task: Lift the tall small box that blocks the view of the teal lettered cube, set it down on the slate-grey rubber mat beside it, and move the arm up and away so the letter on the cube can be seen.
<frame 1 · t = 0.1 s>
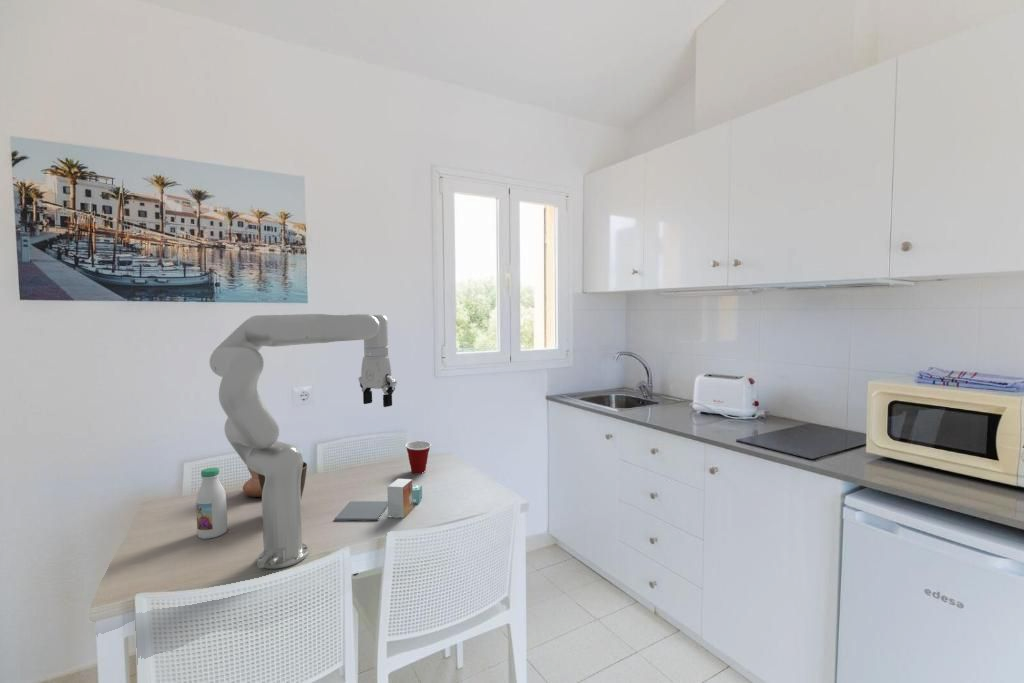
hand: (377, 404, 154), 37 cm above the table, tool pointing down, fingers open, 9 cm apart
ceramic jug: (264, 493, 177), on the table
slate mat: (363, 511, 159), on the table
plant pot: (284, 514, 158), on the table
small box: (400, 513, 158), on the table
plastic cup: (418, 472, 200), on the table
lettered cube: (413, 501, 168), on the table
milk bottle: (212, 534, 144), on the table
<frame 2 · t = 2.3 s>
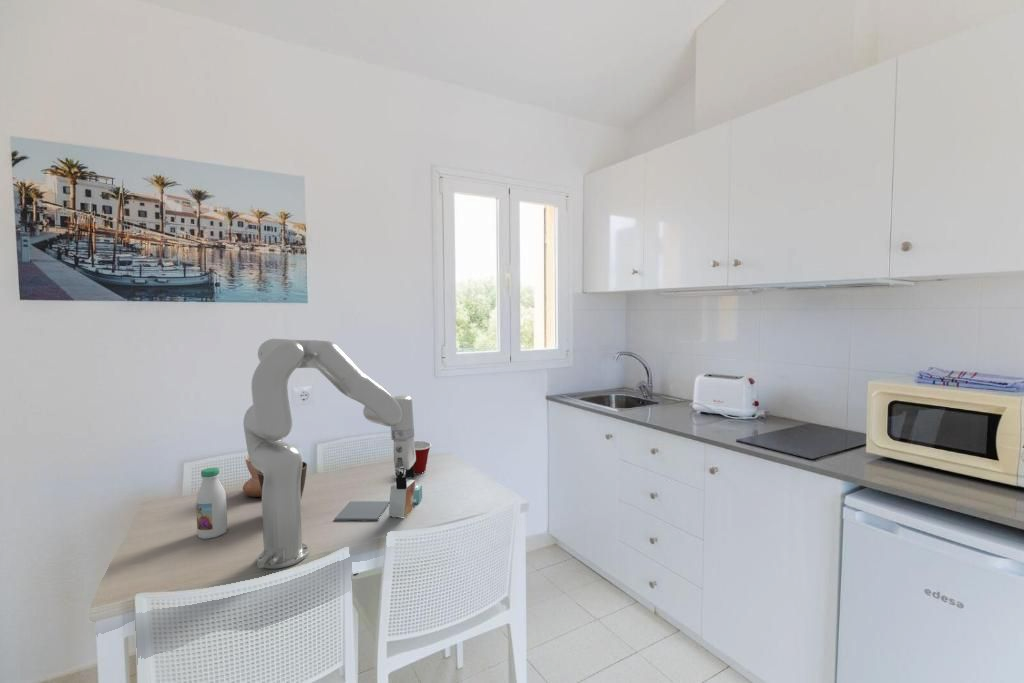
hand: (405, 482, 158), 10 cm above the table, tool pointing down, fingers open, 9 cm apart
small box: (400, 513, 158), on the table, touching gripper
everything else where it was.
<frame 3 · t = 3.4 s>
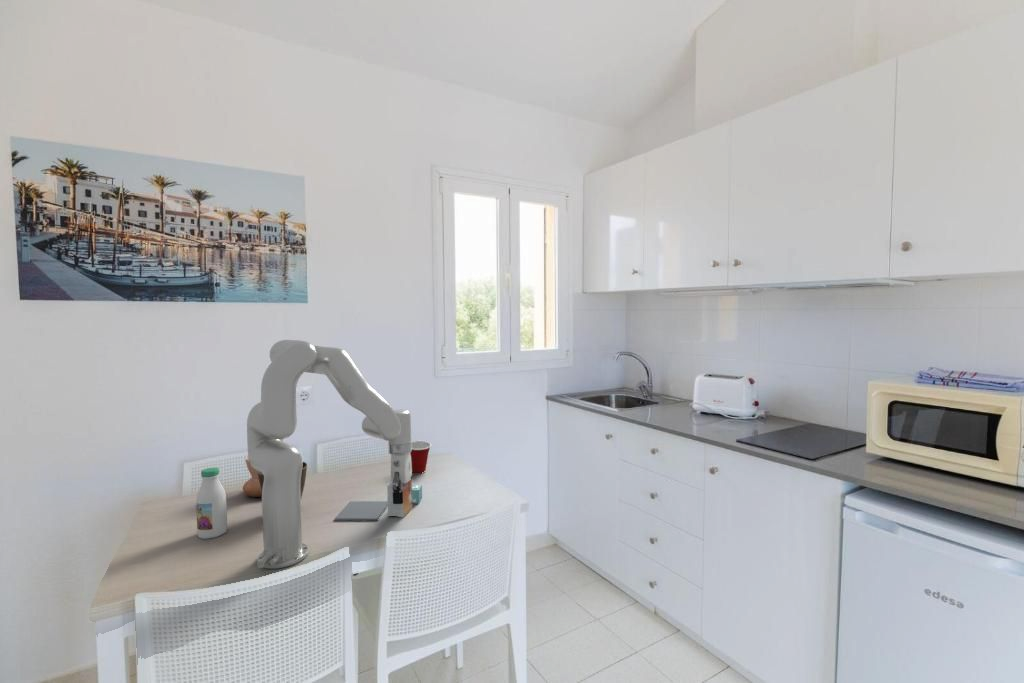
hand: (401, 497, 158), 5 cm above the table, tool pointing down, fingers closed on small box, 8 cm apart
small box: (400, 513, 158), on the table, touching gripper
everything else where it was.
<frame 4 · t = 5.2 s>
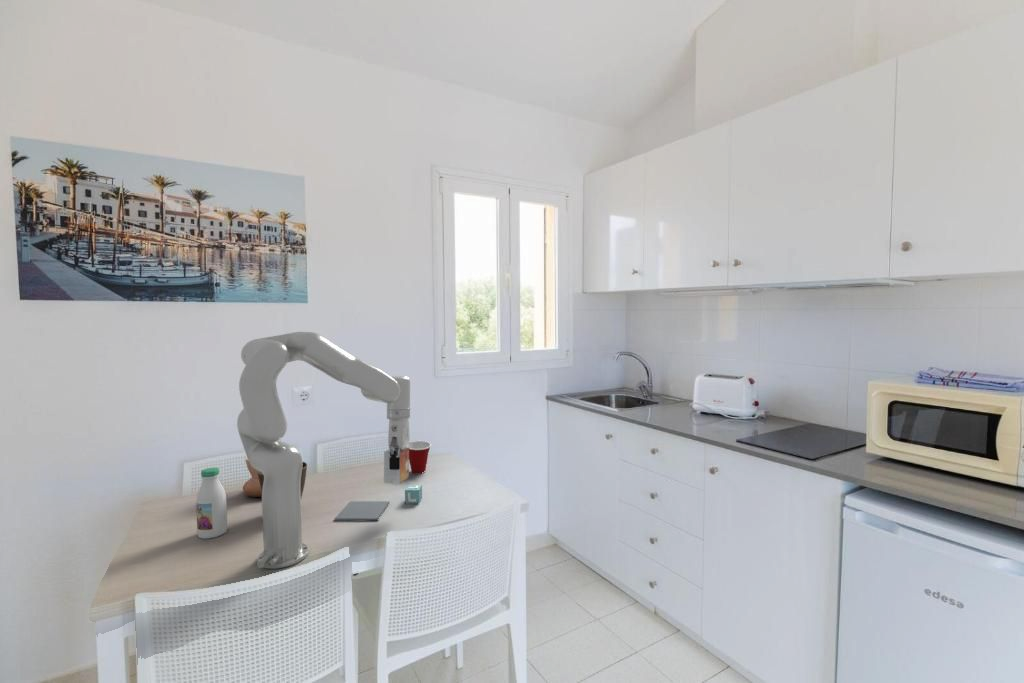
hand: (398, 465, 157), 17 cm above the table, tool pointing down, fingers closed on small box, 8 cm apart
small box: (396, 480, 157), point 11 cm above the table, touching gripper
everything else where it was.
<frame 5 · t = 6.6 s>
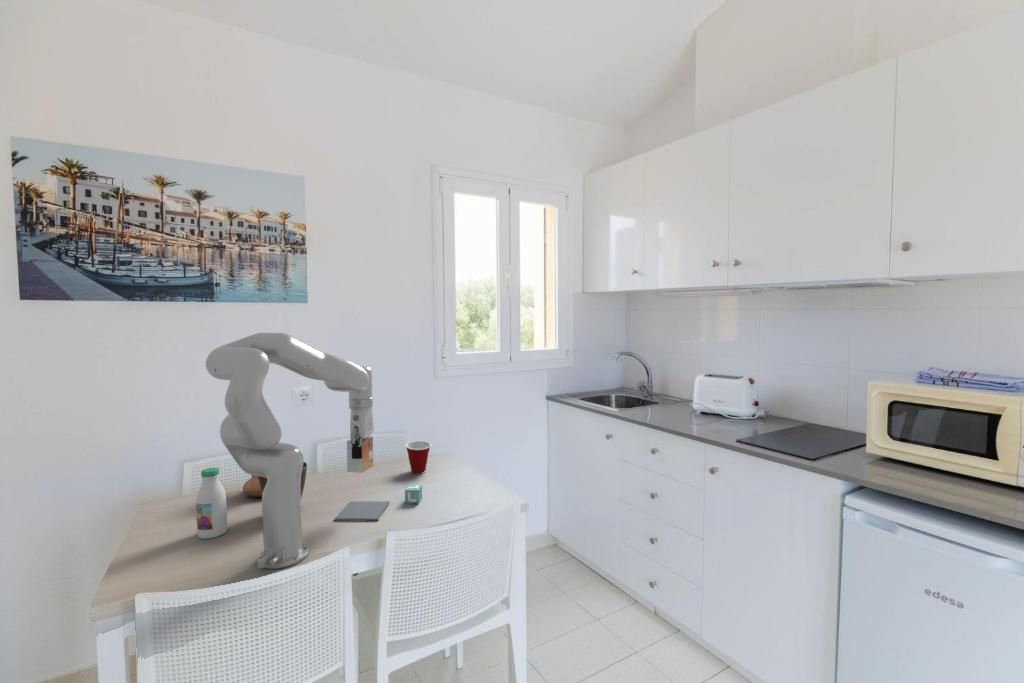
hand: (361, 454, 158), 20 cm above the table, tool pointing down, fingers closed on small box, 8 cm apart
small box: (360, 469, 158), point 15 cm above the table, touching gripper
everything else where it was.
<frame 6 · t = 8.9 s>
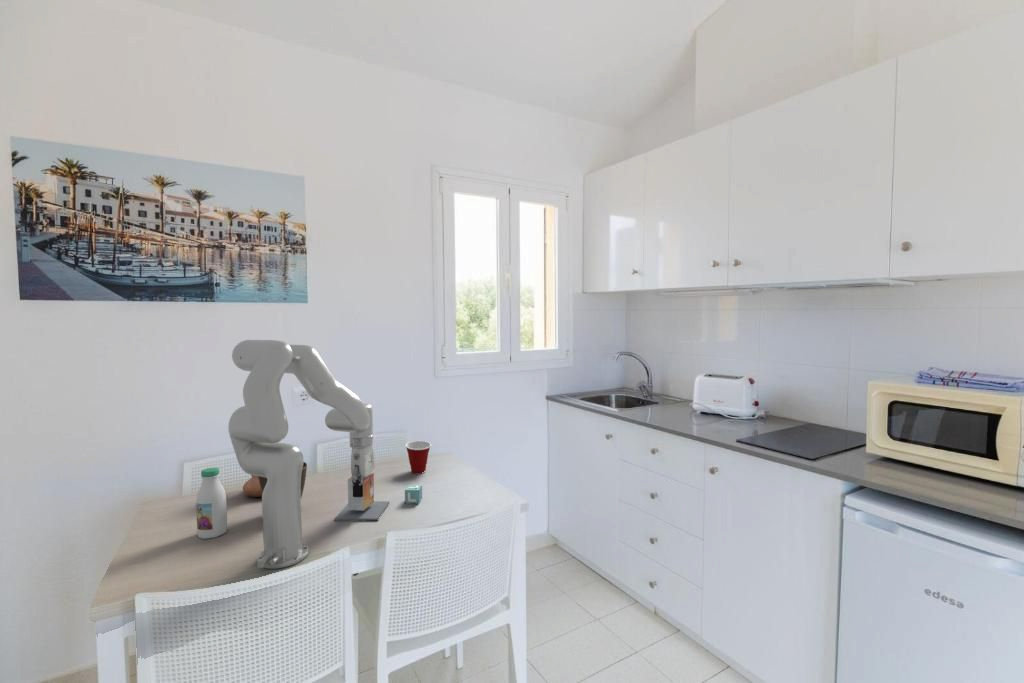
hand: (362, 491, 159), 7 cm above the table, tool pointing down, fingers closed on small box, 8 cm apart
small box: (361, 506, 159), point 2 cm above the table, touching gripper
everything else where it was.
when the fingers open (6 cm above the table, at t = 10.1 s): small box stays where it is, resting on slate mat.
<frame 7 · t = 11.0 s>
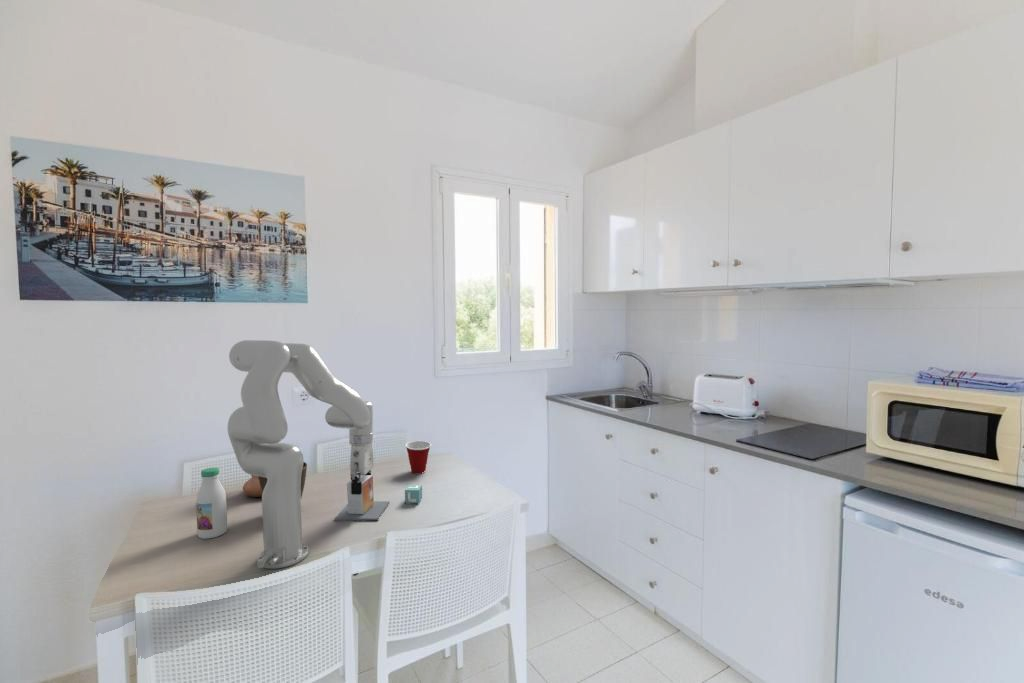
hand: (361, 489, 158), 8 cm above the table, tool pointing down, fingers open, 9 cm apart
small box: (361, 509, 159), point 1 cm above the table, touching slate mat
everything else where it was.
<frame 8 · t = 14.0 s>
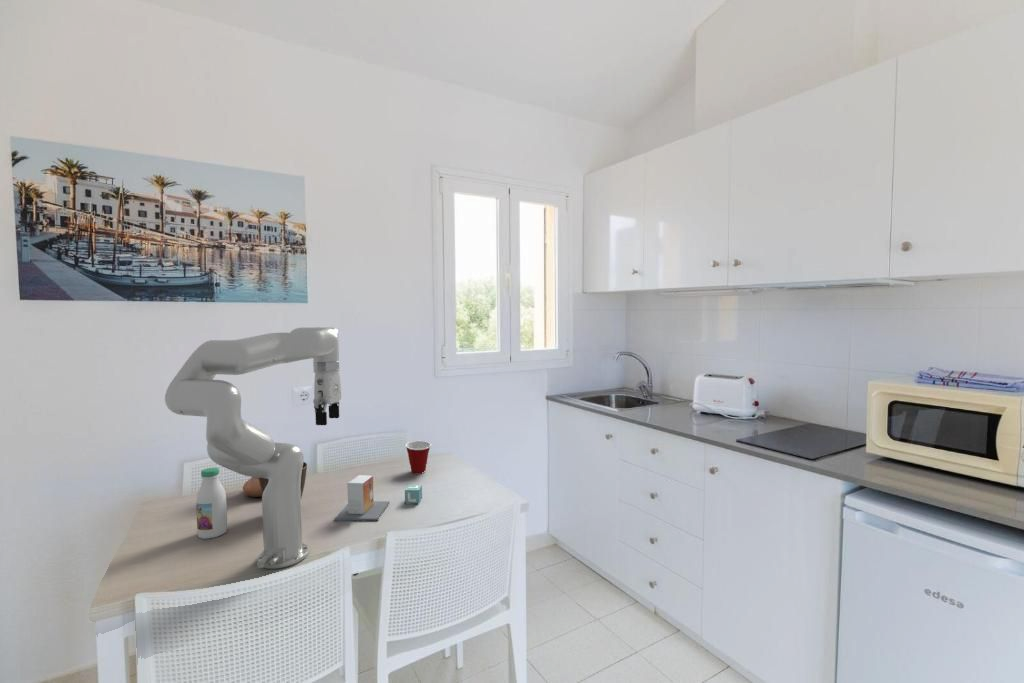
hand: (327, 421, 147), 33 cm above the table, tool pointing down, fingers open, 9 cm apart
nothing on the table moved.
at the end: small box inside the target area on the slate mat (0.7 cm from its centre), point 0.6 cm above the slate mat's base; small box tilted 0°; lettered cube moved 0.1 cm from its start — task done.
